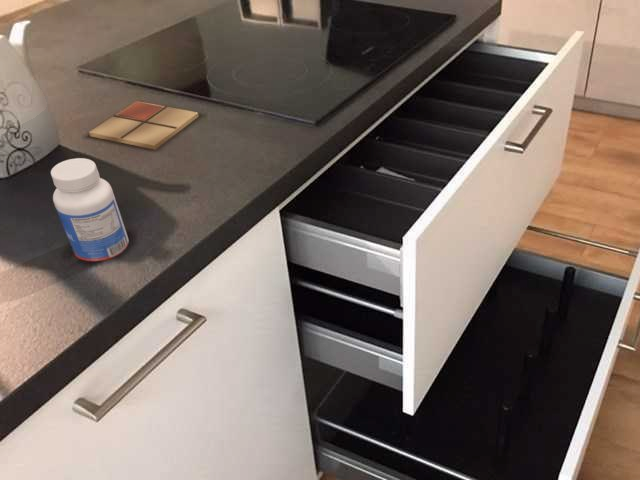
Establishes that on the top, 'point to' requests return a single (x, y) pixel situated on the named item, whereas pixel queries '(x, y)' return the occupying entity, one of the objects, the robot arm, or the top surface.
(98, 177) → the pill bottle
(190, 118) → the grid board
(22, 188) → the top surface
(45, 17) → the top surface
